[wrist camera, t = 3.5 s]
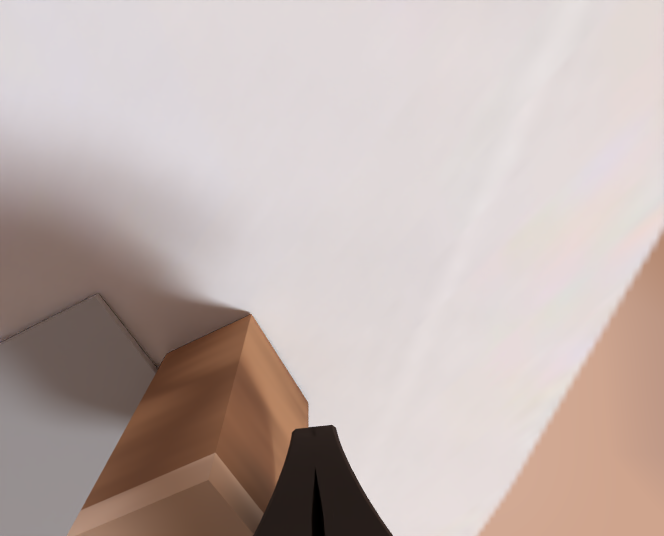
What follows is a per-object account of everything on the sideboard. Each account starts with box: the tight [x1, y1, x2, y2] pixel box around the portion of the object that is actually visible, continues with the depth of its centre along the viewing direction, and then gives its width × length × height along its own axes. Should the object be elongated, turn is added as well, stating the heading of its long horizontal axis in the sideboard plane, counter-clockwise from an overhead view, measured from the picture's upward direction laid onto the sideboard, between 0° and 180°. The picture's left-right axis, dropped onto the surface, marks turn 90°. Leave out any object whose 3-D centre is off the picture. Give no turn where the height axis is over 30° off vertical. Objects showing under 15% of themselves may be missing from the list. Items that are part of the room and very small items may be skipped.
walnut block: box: [67, 314, 308, 536], centre depth 15 cm, size 4×5×8 cm
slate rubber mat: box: [0, 294, 158, 536], centre depth 19 cm, size 11×12×1 cm
